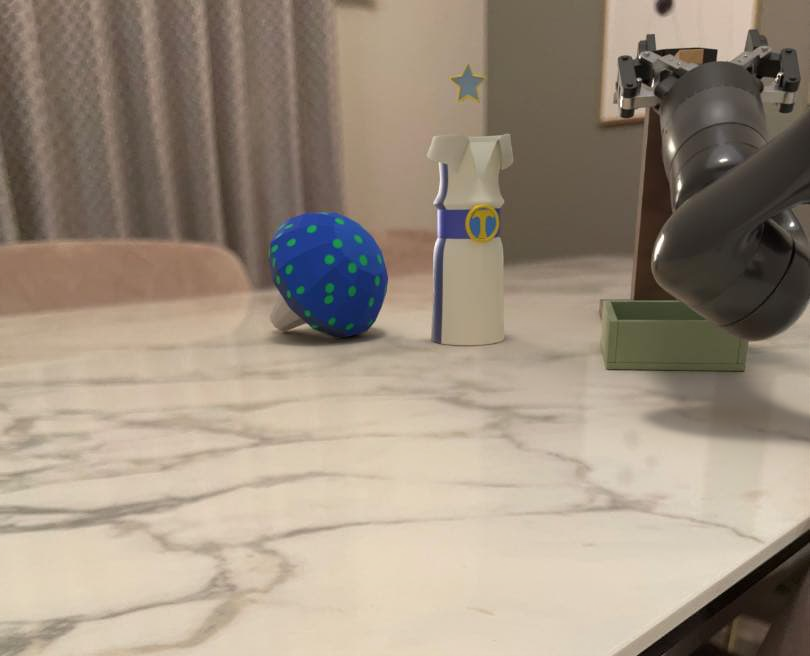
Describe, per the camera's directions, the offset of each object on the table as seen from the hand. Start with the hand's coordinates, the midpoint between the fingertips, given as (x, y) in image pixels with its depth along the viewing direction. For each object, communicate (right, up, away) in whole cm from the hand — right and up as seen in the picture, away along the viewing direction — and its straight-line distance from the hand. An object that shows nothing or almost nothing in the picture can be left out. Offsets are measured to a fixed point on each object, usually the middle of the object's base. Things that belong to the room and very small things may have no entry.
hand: (698, 43), depth 74 cm
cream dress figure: (-19, -23, +14) cm, 33 cm away
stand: (+4, -17, +26) cm, 31 cm away
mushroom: (-34, -21, +19) cm, 45 cm away
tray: (-2, -27, +4) cm, 27 cm away
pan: (+2, +3, +13) cm, 13 cm away
